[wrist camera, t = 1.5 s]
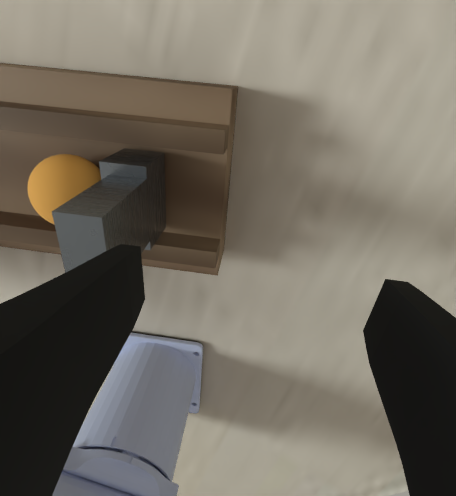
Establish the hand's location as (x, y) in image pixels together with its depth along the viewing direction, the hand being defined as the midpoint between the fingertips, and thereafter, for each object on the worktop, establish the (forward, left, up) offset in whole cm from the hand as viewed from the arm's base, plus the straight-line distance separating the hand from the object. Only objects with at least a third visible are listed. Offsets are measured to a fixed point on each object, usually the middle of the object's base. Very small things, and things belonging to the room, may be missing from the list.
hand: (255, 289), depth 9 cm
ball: (0, +9, -6) cm, 11 cm away
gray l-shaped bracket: (0, +6, -8) cm, 10 cm away
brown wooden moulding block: (0, +11, -11) cm, 15 cm away
